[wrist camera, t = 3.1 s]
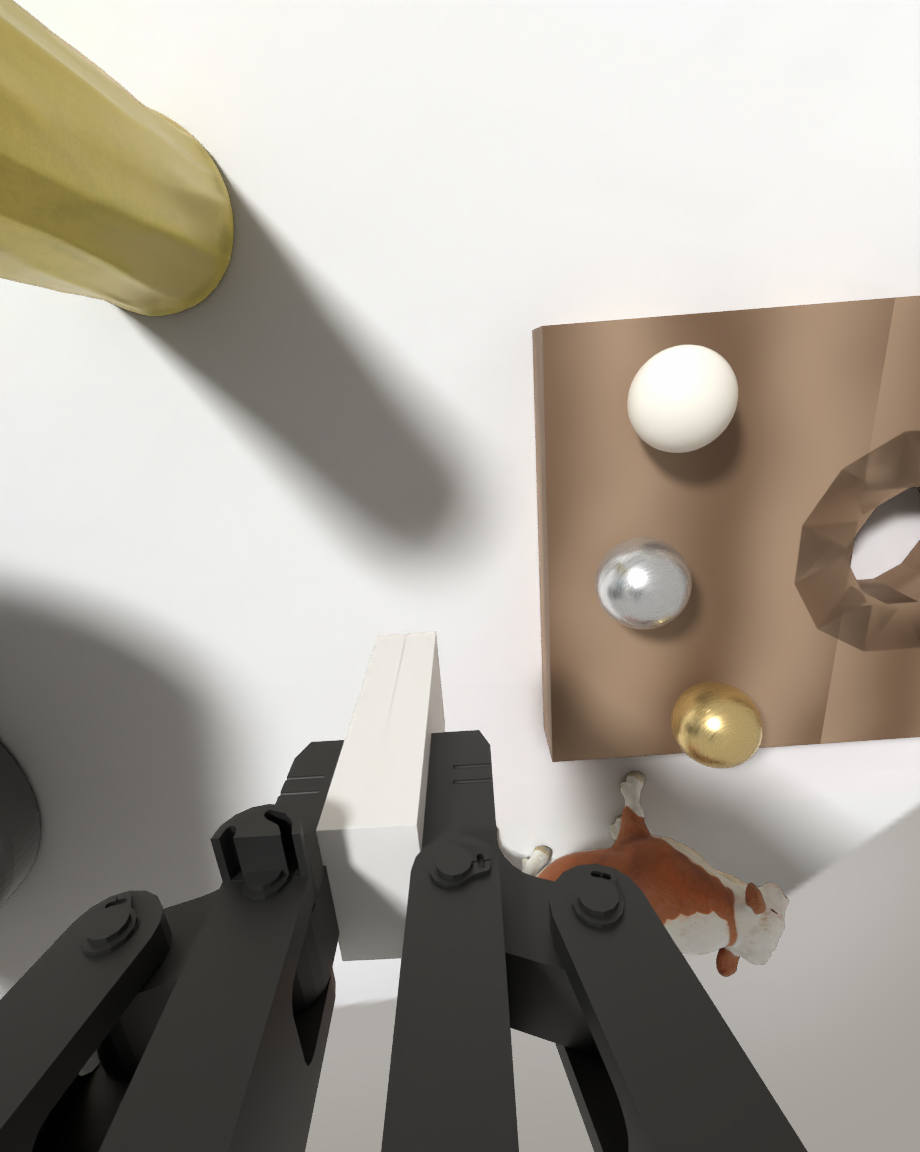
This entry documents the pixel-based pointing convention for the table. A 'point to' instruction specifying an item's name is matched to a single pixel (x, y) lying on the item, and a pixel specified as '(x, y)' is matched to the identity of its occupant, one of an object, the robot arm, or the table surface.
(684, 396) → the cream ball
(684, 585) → the steel ball
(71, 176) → the vase
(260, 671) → the table surface
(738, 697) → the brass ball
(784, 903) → the bull figurine
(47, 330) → the table surface
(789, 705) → the board
